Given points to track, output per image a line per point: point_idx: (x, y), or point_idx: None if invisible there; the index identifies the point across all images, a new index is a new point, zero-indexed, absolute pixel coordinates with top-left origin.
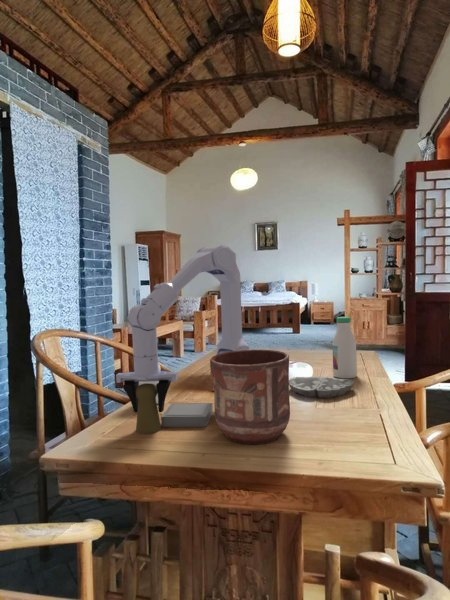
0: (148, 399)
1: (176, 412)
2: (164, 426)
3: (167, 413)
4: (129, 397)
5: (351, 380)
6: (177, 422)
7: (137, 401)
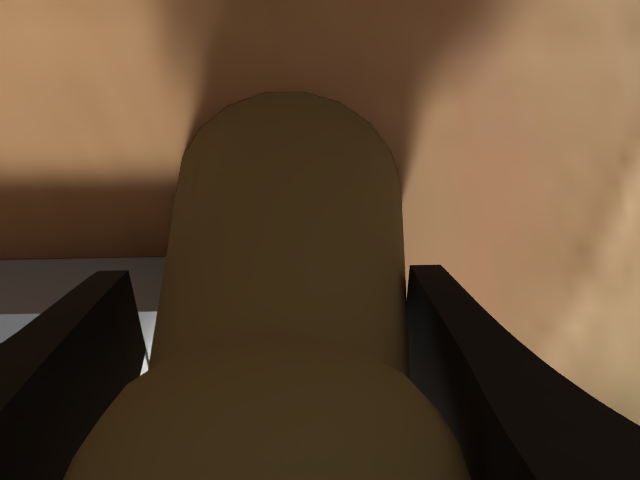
0: (194, 345)
1: None
2: None
3: None
4: (564, 382)
5: None
6: (38, 280)
7: None
